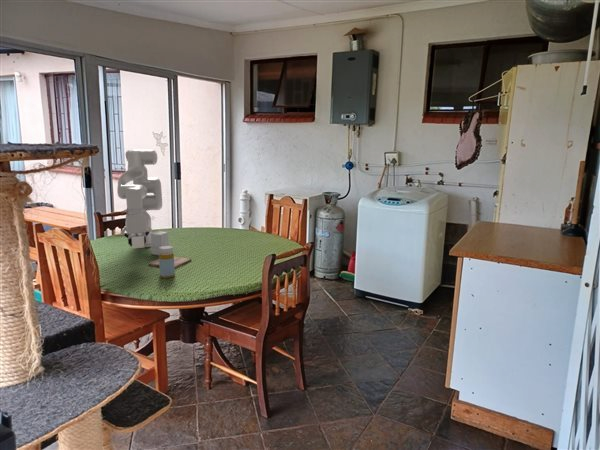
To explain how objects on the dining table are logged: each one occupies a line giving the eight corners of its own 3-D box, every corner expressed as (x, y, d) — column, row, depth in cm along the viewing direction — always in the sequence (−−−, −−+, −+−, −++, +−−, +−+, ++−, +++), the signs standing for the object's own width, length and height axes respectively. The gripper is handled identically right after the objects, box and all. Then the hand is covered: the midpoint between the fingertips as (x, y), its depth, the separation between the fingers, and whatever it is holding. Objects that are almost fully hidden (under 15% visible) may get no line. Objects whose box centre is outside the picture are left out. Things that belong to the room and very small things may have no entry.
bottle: (161, 274, 210) (160, 245, 207) (176, 273, 211) (174, 245, 208) (158, 278, 204) (156, 249, 200) (173, 278, 204) (171, 249, 201)
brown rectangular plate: (148, 265, 223) (147, 256, 222) (167, 257, 238) (167, 248, 237) (173, 269, 218) (172, 259, 217) (191, 261, 233) (191, 252, 231)
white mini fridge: (132, 248, 214) (131, 236, 213) (130, 244, 221) (129, 232, 219) (144, 247, 217) (143, 235, 216) (142, 243, 224) (141, 231, 222)
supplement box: (169, 252, 248) (168, 231, 245) (161, 255, 241) (160, 234, 238) (159, 251, 250) (158, 230, 247) (151, 254, 243) (149, 233, 241)
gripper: (117, 214, 207) (120, 248, 212) (153, 211, 215) (155, 244, 220) (116, 211, 213) (118, 244, 218) (151, 208, 222) (153, 241, 226)
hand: (137, 244), depth 219 cm, fingers closed on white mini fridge, 5 cm apart
